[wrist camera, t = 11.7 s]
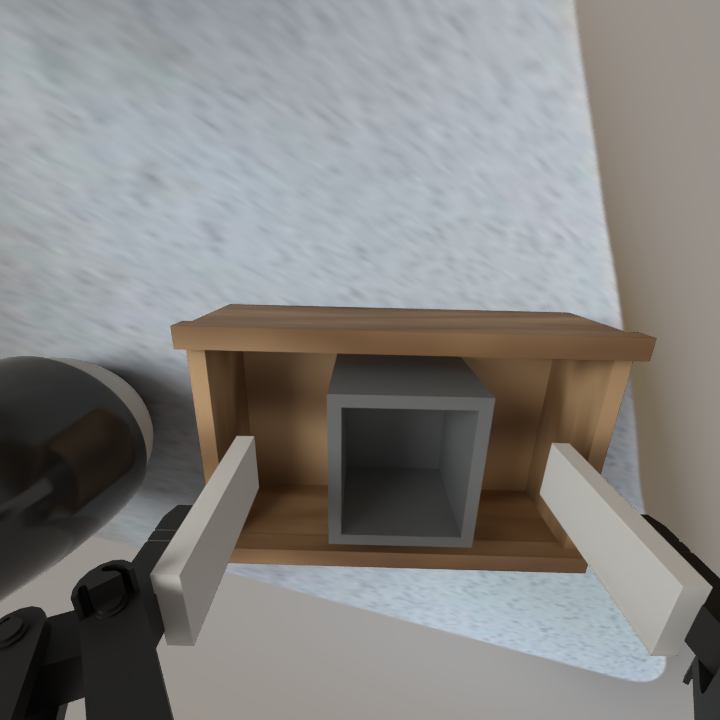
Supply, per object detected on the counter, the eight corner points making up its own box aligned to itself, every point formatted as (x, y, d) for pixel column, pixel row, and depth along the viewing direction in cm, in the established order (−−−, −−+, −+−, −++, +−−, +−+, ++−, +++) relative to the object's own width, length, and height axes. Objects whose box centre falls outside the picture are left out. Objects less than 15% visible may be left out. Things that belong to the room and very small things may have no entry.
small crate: (337, 351, 20) (326, 394, 14) (458, 354, 20) (495, 397, 14) (337, 468, 23) (328, 543, 17) (444, 471, 23) (471, 547, 17)
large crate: (226, 302, 20) (170, 325, 14) (572, 311, 20) (656, 338, 14) (244, 486, 24) (206, 562, 18) (532, 494, 24) (585, 573, 18)
